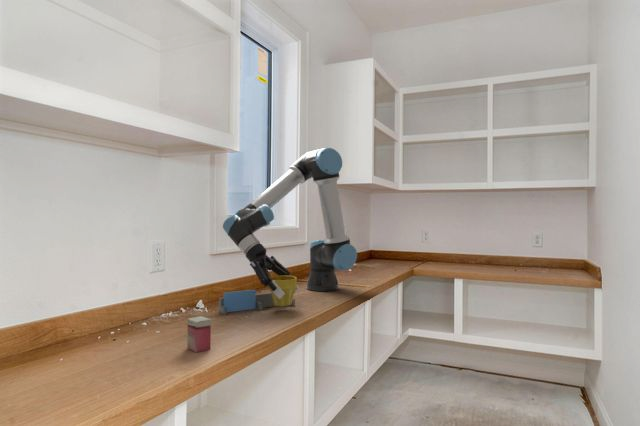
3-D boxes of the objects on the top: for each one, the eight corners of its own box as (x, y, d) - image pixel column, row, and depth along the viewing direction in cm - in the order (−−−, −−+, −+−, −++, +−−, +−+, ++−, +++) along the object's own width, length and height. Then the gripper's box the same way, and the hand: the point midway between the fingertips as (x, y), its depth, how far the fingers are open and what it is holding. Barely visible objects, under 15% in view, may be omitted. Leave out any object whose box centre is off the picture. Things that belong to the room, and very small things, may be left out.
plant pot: (283, 308, 144) (283, 280, 144) (262, 305, 150) (262, 278, 150) (302, 303, 152) (302, 276, 152) (281, 300, 158) (281, 274, 158)
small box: (186, 348, 108) (186, 318, 108) (201, 344, 111) (201, 315, 111) (196, 353, 105) (196, 321, 105) (211, 349, 108) (211, 318, 108)
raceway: (289, 303, 163) (289, 285, 163) (295, 305, 159) (295, 287, 159) (219, 311, 149) (219, 292, 149) (223, 314, 144) (223, 294, 144)
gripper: (263, 253, 168) (297, 294, 161) (228, 259, 147) (266, 307, 141) (274, 240, 166) (309, 281, 159) (240, 244, 145) (280, 292, 138)
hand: (289, 293), depth 150 cm, fingers closed on plant pot, 10 cm apart
